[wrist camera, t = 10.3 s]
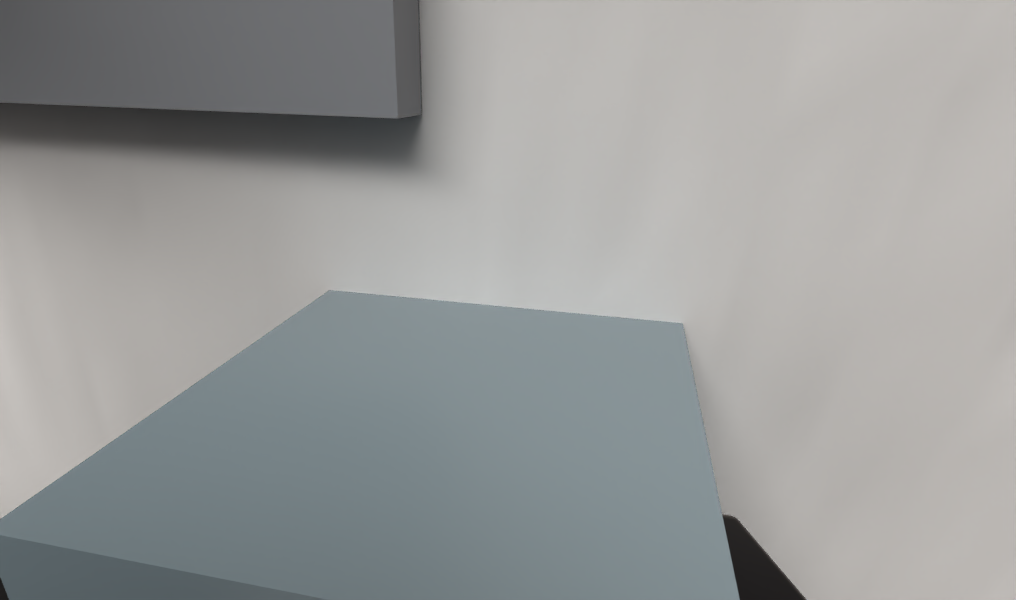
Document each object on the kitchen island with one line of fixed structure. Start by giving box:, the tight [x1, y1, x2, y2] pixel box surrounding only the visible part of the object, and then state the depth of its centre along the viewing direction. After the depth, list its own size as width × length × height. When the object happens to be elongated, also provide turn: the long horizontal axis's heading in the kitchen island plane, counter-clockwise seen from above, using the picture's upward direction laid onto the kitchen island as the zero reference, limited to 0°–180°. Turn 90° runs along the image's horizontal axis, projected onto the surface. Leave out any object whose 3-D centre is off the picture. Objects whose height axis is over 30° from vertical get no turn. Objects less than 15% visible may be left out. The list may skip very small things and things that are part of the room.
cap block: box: [0, 290, 740, 600], centre depth 6 cm, size 5×5×6 cm
